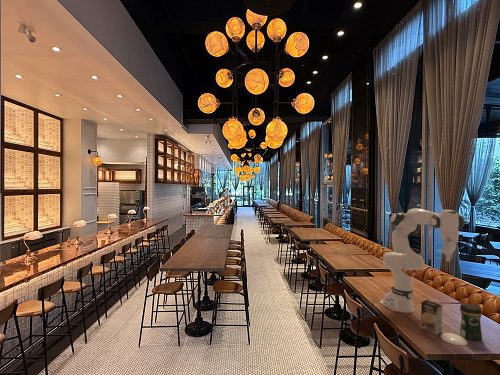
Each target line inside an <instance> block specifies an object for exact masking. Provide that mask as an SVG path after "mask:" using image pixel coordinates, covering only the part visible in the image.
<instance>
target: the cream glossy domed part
mask: <svg viewBox="0 0 500 375" xmlns="http://www.w3.org/2000/svg"><path fill="white" fill-rule="evenodd" d="M440 339H442V341H444V342H446V343H448V344H451V345H455V346H463V347H464V346H467V345H468V339H466V338H464V337H462V336H461V335H458V334H455V333H450V332H441V333H440Z"/></svg>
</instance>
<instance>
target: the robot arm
mask: <svg viewBox="0 0 500 375" xmlns="http://www.w3.org/2000/svg"><path fill="white" fill-rule="evenodd" d="M389 223H390V224H391V225H392V226H393V227H395V228H396V229H394V230H393V231H392V234H391V243H392V250H393V251H391V252H390V251H389V252H385V253H384V254H383V256H382V261H383V262H382V263H383V264H384V265H385V267H387V269H389V270H390V272H391V274H392V277H393V286H390V287H389V288H390V289H391V291H389V292H387V293H385V294H384V296H383V299H381V300H379V304H380V305H382V306H384V307H386V308H388V309H390V310H391V311H393V312H400V313H404V314H405V313H406V314H407V313H410V314H411V313H414V312H415V308H414V305H413V287H412V284H413V283H412V282H413V279H412V277H411V276H410V275H408V274H407V273H405V272H404V271H403V270H411V271H415V270H416V271H417V270H423V268H424V266H425V259H424V257H423V256H422V255H420V254H418V253H416V252H415V251H414V250H413V249H412V248H411V246H410V242H409V238H408V237H412V236H414V235H417V234H418V233H420V231H421V227H422V225H430V226H431V227H433V228H434V229H435V230H440V239H441V240H442V242H443V244H442V254H443V255H445V261H446V262H451V260H452V259H453V256H454V252H455V251H456V249H457V242H458V241H459V238H460V236H459V235H460V232H459V231H460V230H462V229H463V227H465V224H466V222H465V219H464V217H463V216H462V215H461V214H460V213H458V211H456V210H454V209H442V210H441V212H439V213H437V212H433V211H430V210H427V209H423V208H411V209H408V210H407V212H406V213H404V212H396V213H393V214H392V215H391V216H390V220H389Z"/></svg>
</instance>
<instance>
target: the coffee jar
mask: <svg viewBox="0 0 500 375" xmlns="http://www.w3.org/2000/svg"><path fill="white" fill-rule="evenodd" d="M459 311H460V313H461V316H460V317H461V322H460V328H459V334H460V336H461V337H463V338H465V339H466V340H469V341H482V339H483V335H482V334H483V333H482V326H481V318H482V316H483V314H482V313H483V312H482V308H481V307H480V305H478V304H471V303H470V304H469V303H460V308H459Z"/></svg>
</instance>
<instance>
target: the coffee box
mask: <svg viewBox="0 0 500 375" xmlns="http://www.w3.org/2000/svg"><path fill="white" fill-rule="evenodd" d="M420 312H421V313H420V314H421V315H420V316H421V317H420V329H422V330H425V331H427V332H429V333H431V334H434V335H438V334H442V328H443V326H442V325H443V321H442V320H443V304H439V303H437V302H434V301H431V300H429V299H425V300H423V301H421V311H420Z"/></svg>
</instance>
